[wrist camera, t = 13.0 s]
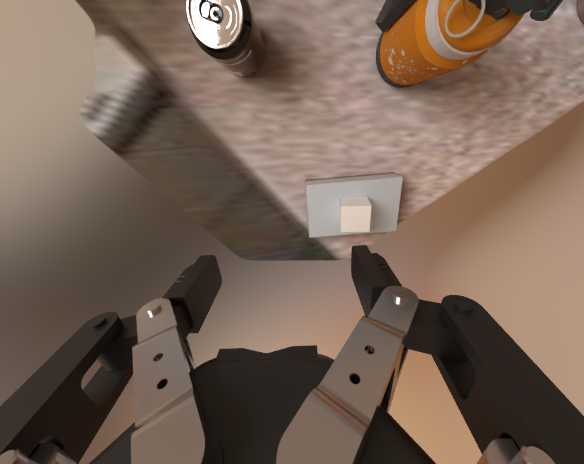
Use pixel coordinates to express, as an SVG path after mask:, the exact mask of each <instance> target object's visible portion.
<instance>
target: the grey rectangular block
mask: <svg viewBox="0 0 584 464" xmlns="http://www.w3.org/2000/svg"><path fill="white" fill-rule="evenodd" d="M402 180H403V177H402V176H400V175H398V174H396V173H394V172H391V173H380V174H368V175H357V176H345V177H334V178H323V179H311V180H305V182H306V197H307V212H308V227H309V237H322V236H336V235H350V234H365V233H379V232H393V231H396V227H397V219H398V211H399V204H400V196H401V188H402ZM356 196H367V197H368V199H369V201H370V204H371V218H370V230H369V232H341V229H340V198H344V197H356Z"/></svg>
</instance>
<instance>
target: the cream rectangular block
mask: <svg viewBox="0 0 584 464" xmlns="http://www.w3.org/2000/svg"><path fill="white" fill-rule="evenodd" d="M370 218H371V204H370V201H369V199H368V197H367V196H356V197H344V198H340V229H341V232H369V230H370Z"/></svg>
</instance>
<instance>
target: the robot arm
mask: <svg viewBox="0 0 584 464" xmlns="http://www.w3.org/2000/svg"><path fill="white" fill-rule="evenodd" d="M577 8H578V14H579V17H580V19H581V21H582V22H583V23H584V0H578V2H577ZM351 273H352V279H353V282H354V285H355V287H356V290H357V293H358V296H359V299H360V302H361V305H362V308H363V310H364V313H365V316H366V317H365V316H363V317H362V318H361V319H360V320H359V322H358V324H357V325H356V327H355V328H354V330H353V332H352V333H351V335H350V336H349V338H348V340H347V341H346V343H345V345H344V346H343V348H342V349H341V351H340V353H339V354H338V356H337V357H336V359H335V360H333V359H331V358H329V357H327V356H324V355H321V354H317V346H292V347H288V348H285V349H281V350H278V351H274V352H271V353H262V352H257V351H253V350H248V349H244V348H237V349H220V350H219V352H218V355H217V357H216V358H214V359H212V360H209V361H208V362H205V363H203V364H201V365H200V366H198V367H197V368H196V365H195V362H194V359H193V356H192V352H191V349H190V346H189V343H188V341H187V338H186V337H187V335H188V334H189V333H198V332H199V330H200V328H201V326H202V324H203V322H204V320H205V318H206V316H207V314H208V312H209V310H210V308H211V306H212V304H213V301H214V299H215V297H216V295H217V293H218V291H219V289H220V287H221V283H222V278H221V274H220V270H219V267H218V263H217V260H216V257H215V256H214V255H205V256H200V257H199V258H198V259H197V261H196V262H195V263H194V265H191V266H189V267H188V268H187V269H185V270H184V271H183V272H182V274H181V275H180V277H178V279H177V280H176V282H175V283H174V284H173V285H172V286H171V288H170V289H169V290H168V291H167V293H166V294H165V295H164V296H163V298H161V299H157V300H154V301H151V302H150V303H148V304H146V305H144V306H143V307H142V308H141V309H140V310H139V311H138V313H137V315H134V316H130V317H127V318H123V319H120V318H119V316H118V314H117V313H116V312H106V313H103V314H100V315H98V316H96V317H94V318H92V319H90V320H89V321H87V322H86V323H85V324H84V325H83V326H82V327H81V328H80V329H79V330H78V331H77V332H76V333H75V334H74V335H73V336H72V337H71V338H69V340H68V341H66V342H65V343H64V344H63V345H62V346H61V347H60V348H59V350H58V351H56V352H55V353H54V354H53V355H52V356H51V357H50V358H49V359H48V360H47V361H46V362H45V363H44V364H43V365H42V366H41V367H40V368H39V369H38V370H37V371H36V372H35V373H34V374H33V375H32V376H31V377H30V378H29V379H28V380H27V381H26V382H25V383H24V384H23V385H22V386H21V387H20V388H19V389H18V390H17V391H16V392H15V393H14V394H13V395H12V396H11V397H10V398H9V399H8V400H6V401H5V402H4V403H3V404H2V405H1V406H0V464H78V463H79V461H80V460H81V458H82V457H83V455H84V453H85V452H86V450H87V448H88V447H89V445H90V443H91V442H92V440H93V439H94V437H95V435H96V433H97V432H98V430H99V429H100V427H101V426H102V424H103V422H104V420H105V419H106V417H107V416H108V414H109V412H110V411H111V409H112V408H113V406H114V404H115V403H116V401H117V399H118V398H119V396H120V395H121V393H122V391H123V390H124V388H125V386H126V385H127V383H128V381H129V380H130V378H131V377H132V375H133V377H134V378H133V379H134V405H135V423H133V424H132V425H131V426H130V427H129V428H128V429H127V430H126V431H125V432H124V433H122V434H121V435H120V436H119V437H118V438H117V439H116V440H115V441H114V442H112V444H110V445H109V446H108V447H107V448H106V449H105V450H104V451H103V452H101V453H100V454H99V455H98V456H97V457H96V458H95V459H94V460H93V461H92V462H90V463H89V464H436V463H435V462H434V461H433V460H432V459H431V458H430V457H429V456H428V455H427V454H426V453H425V451H424V450H423V449H422V448H421V447H420V446H419V445H418V444H417V443H416V442H415V441H414V440H413V439H412V438H411V437H410V436H409V434H408V433H407V432H405V430H404V429H403V428H402V427H401V426H400V425H399V424H398V423H397V422H396V421H395V420H394V419H393V418H392V416H391V415H390V414H389V413H388V412H389V408H390V406H391V402H392V399H393V396H394V392H395V388H396V385H397V382H398V379H399V376H400V373H401V370H402V367H403V364H404V361H405V358H406V356H407V353H408V350H409V349H411V350H415V351H419V352H423V353H427V354H431V355H432V357H433V359H434V361H435V363H436V365H437V367H438V369H439V371H440V373H441V375H442V377H443V378H444V381H445V382H446V384H447V386H448V388H449V390H450V392H451V394H452V396H453V398H454V400H455V402H456V404H457V406H458V408H459V410H460V412H461V414H462V416H463V417H464V420H465V422H466V424H467V425H468V427H469V429H470V431H471V433H472V435H473V437H474V439H475V441H476V443H477V445H478V447H479V449H480V451H481V453H482V456H481V458H480V459H479V461H478V462H477V464H584V416H583V415H582V414H581V413H580V412H579V411H578V409H577V408H575V406H574V405H573V404H572V403H571V402H570V401H569V400H568V399H567V398H566V397H565V395H564V394H563V393H562V392H561V391H560V390H559V389H558V388H557V387H556V386H555V385H554V384H553V382H552V381H551V380H550V379H549V378H548V377H547V376H546V375H545V374H544V373H543V372H542V371H541V370H540V368H539V367H538V366H537V365H536V364H535V363H534V362H533V361H532V360H531V359H530V358H529V357H528V356H527V354H526V353H525V352H524V351H523V350H522V349H521V348H520V347H519V346H518V345H517V344H516V343H515V342H514V340H513V339H512V338H511V337H510V336H509V335H508V334H507V333H506V332H505V331H504V330H503V328H502V327H501V326H500V325H499V324H498V323H497V322H496V321H495V320H494V319H493V318H492V317H491V316H490V314H489V313H488V312H487V311H486V310H485V309H484V308H483V307H482V306H481V305H479V304H478V303H477V302H475V301H473V300H471V299H469V298H467V297H464V296H459V295H449V296H446V297H444V298H443V300H442V303H436V302H430V301H424V300H420V299H418V297H417V295H416V294H415V293H414V292H413V291H411V290H409V289H407V288H405V287H402V285H401V284H400V282H399V281H398V279H397V278H396V276H395V274H394V273H393V272H392V270H391V268H390V267H389V265H388V264H387V262H386V260H385V259H384V258H383V257H382V256H380V255H379V254H377V253H371V252H370V251H369V249H368V247H367V245H359V246H352V259H351ZM96 359H97V360H98V361H99V363H101V365H102V366H101V367H100V369H99V370H98V371H97V372H96V374H95V375H94V376H93V378H92V379H91V380H90V382H89V383H88V384H87V385H86V387H85V388H84V390H82V388H81V381H82V378H83V376H84V374H85V373H86V372H87V370H88V369H89V368H90V367H91V365H92V364H93V363H94V362H95V361H96Z"/></svg>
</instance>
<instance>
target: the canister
mask: <svg viewBox="0 0 584 464" xmlns="http://www.w3.org/2000/svg"><path fill="white" fill-rule="evenodd" d="M562 1H563V0H386V1H385V3H384V6H383V8H382V10H381V12H380V14H379V16H378V18H377V20H376V22H375V23H376V24H377V25H378V27H379V28H380V29H381V31H382V34H381V36H380V38H379V41H378V45H377V50H376V64H377V68H378V71H379V73H380V75H381V77H382V78H383V79H384V80H385V81H386V82H387V83H388V84H390V85H392V86H395V87H407V86H410V85H413V84H416V83H419V82H421V81H424V80H427V79H430V78H432V77H435V76H438V75H441V74H443V73H446V72H449V71H451V70H454V69H457V68H460V67H462V66H465V65H467V64H469V63H472V62H473V61H475V60H476V59H478V58H480V57H481V56H482V55H483V54H484V53H486V52H487V51H488V50H489V49H490V48H492V47H493V46H495V45H496V44H498V43H499V42H500V41H501V40H503V39H504V38H505V37H506V36H507V35H508V34H509V33H510V32H511V31H512V30H513V28H514V27H515V26H516V24H517V23H518V22H519V21H520V19H521V18H522V17H523V15H524V13H526V12H528V11H530V10H532V9H533V10H532V11H531V13H530V17H531V18H532V19H534V20H537V21H544V20H547V19H549V18H550V17H551V15H552V14H553V13H554V11H555V10H556V9H557V7H558V6H559V5H560V3H561V2H562Z"/></svg>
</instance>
